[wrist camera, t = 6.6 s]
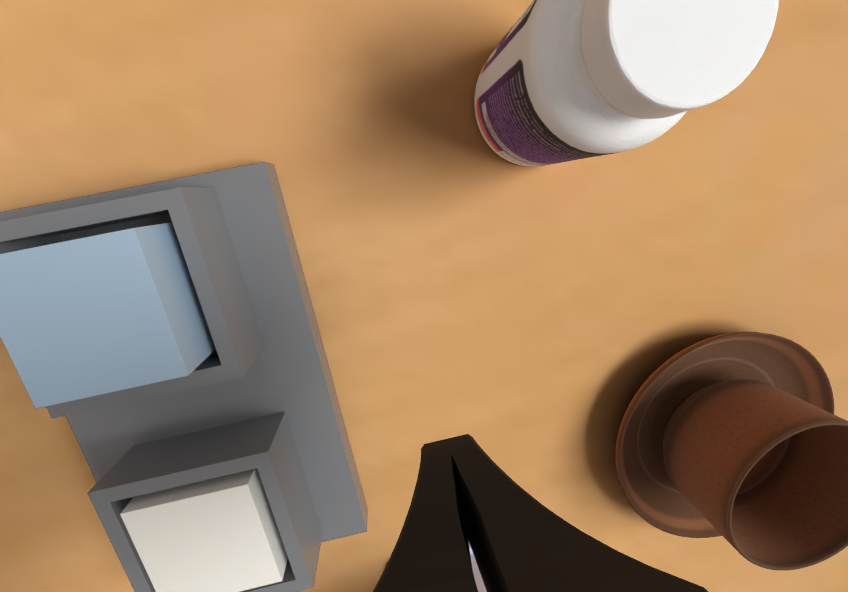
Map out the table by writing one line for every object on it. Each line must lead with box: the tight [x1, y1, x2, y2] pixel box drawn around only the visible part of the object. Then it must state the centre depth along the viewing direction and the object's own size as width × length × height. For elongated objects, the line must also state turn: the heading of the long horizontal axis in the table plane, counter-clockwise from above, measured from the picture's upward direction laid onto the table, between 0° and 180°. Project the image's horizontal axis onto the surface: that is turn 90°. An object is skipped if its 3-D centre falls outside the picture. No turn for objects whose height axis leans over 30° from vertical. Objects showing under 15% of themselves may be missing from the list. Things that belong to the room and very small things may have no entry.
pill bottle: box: [474, 0, 779, 166], centre depth 14 cm, size 5×5×10 cm
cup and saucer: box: [615, 332, 848, 570], centre depth 21 cm, size 12×12×6 cm
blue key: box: [0, 222, 216, 409], centre depth 14 cm, size 5×5×3 cm
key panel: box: [0, 162, 368, 592], centre depth 18 cm, size 18×11×4 cm, turn 11°
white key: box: [120, 468, 288, 592], centre depth 18 cm, size 5×5×3 cm
